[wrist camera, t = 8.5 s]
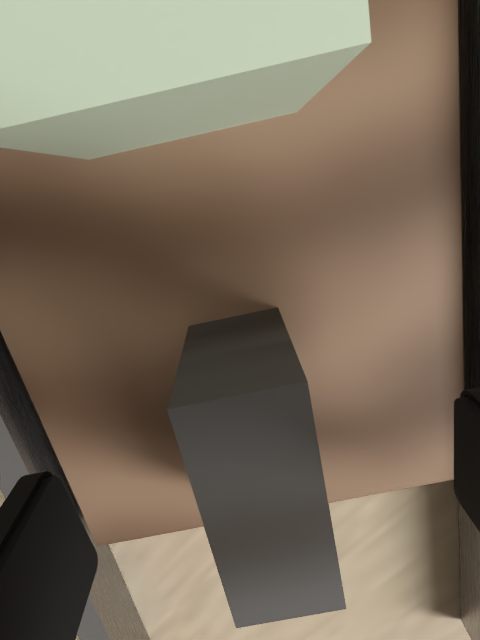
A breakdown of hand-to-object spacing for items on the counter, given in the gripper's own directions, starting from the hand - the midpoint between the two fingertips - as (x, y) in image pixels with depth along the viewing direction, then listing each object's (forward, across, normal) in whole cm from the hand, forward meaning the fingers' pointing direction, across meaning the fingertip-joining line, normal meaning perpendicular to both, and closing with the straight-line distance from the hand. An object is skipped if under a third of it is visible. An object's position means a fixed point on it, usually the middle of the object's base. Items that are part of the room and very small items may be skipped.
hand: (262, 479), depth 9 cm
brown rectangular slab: (+6, 0, -6) cm, 8 cm away
